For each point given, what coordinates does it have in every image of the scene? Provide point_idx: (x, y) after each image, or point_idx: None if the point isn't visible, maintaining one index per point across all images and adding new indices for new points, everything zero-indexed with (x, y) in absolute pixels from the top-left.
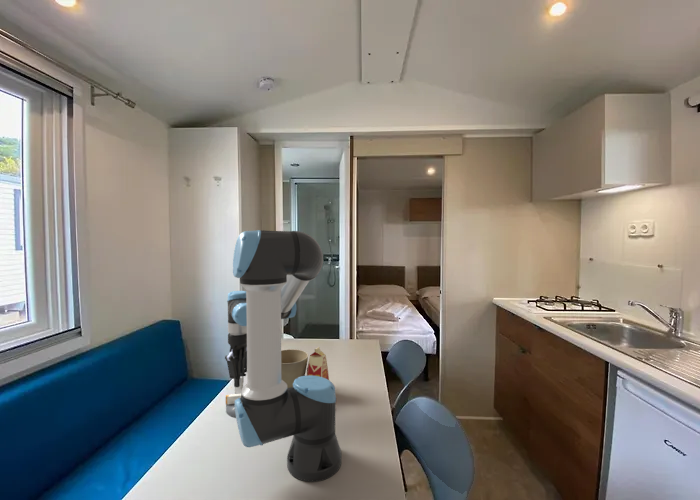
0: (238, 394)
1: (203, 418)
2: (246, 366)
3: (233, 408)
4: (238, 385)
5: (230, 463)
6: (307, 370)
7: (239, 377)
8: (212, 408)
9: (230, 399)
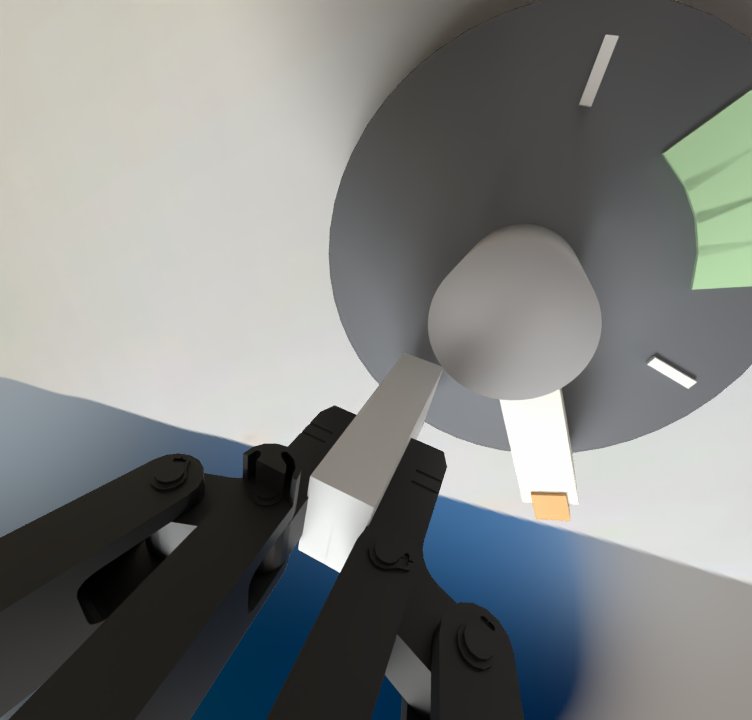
0: (521, 400)
1: (671, 550)
2: (78, 548)
3: (659, 379)
4: (422, 457)
5: None
6: None
7: (399, 554)
8: (515, 509)
9: (571, 453)
